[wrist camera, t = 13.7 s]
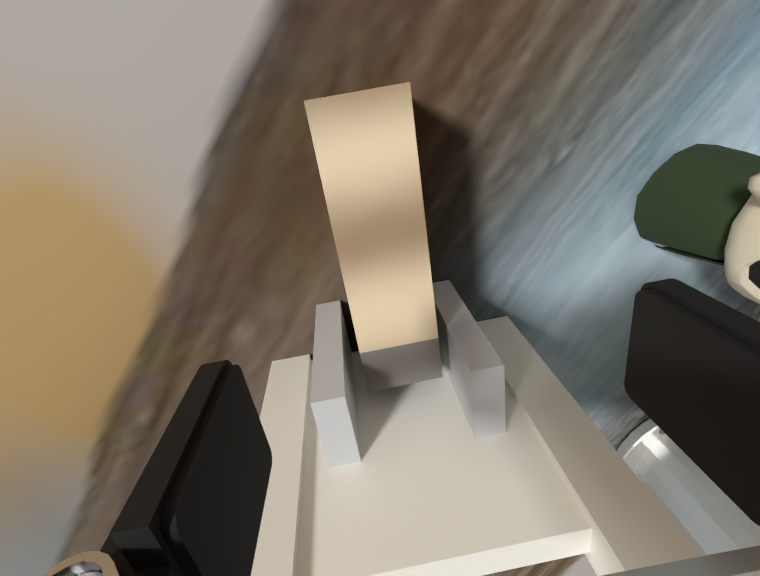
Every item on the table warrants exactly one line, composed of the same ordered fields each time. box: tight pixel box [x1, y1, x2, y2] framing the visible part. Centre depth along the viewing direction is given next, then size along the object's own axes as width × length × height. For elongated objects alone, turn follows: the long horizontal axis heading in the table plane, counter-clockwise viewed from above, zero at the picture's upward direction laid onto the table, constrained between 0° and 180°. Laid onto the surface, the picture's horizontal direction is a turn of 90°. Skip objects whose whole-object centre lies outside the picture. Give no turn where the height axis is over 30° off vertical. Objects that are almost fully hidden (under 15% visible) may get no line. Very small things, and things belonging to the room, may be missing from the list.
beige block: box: [304, 82, 443, 392], centre depth 21 cm, size 14×4×6 cm, turn 9°
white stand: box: [251, 280, 701, 576], centre depth 19 cm, size 16×6×16 cm, turn 99°
